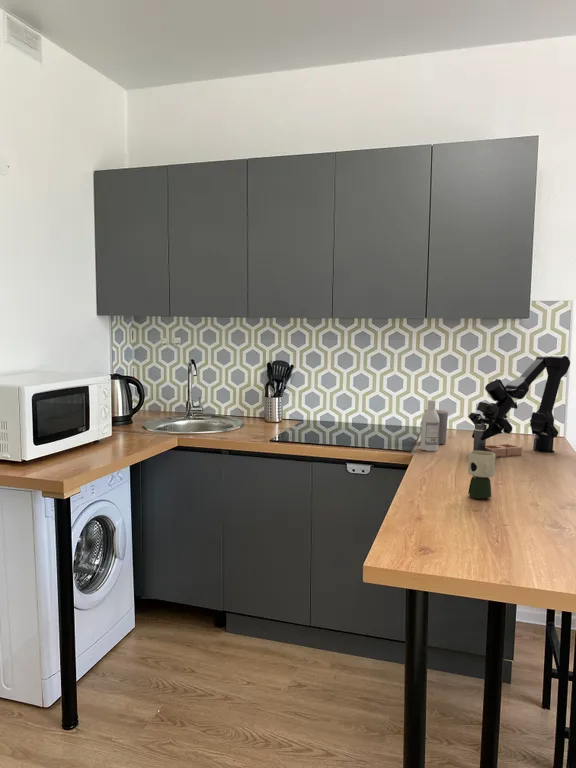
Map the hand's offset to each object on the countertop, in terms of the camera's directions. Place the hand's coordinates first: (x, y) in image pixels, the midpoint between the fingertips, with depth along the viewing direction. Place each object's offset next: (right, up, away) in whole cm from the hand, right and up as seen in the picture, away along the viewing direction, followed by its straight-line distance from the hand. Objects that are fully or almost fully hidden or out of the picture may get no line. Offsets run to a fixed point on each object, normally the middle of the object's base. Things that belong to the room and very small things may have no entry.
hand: (477, 438), depth 228 cm
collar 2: (+14, -6, +7) cm, 17 cm away
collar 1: (+7, -7, +4) cm, 10 cm away
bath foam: (-16, -6, +10) cm, 20 cm away
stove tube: (+1, -7, +1) cm, 7 cm away
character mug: (-18, -12, -58) cm, 62 cm away
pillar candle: (-10, -4, +26) cm, 28 cm away
